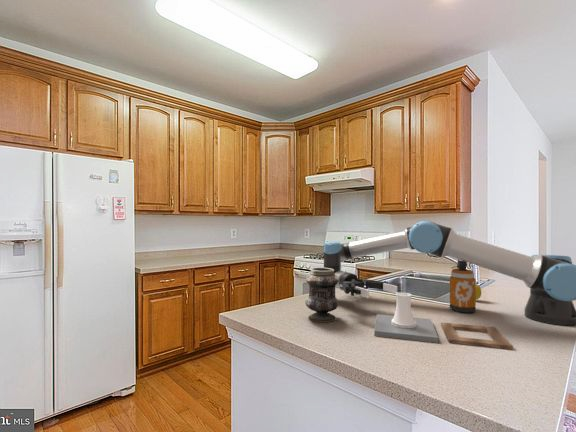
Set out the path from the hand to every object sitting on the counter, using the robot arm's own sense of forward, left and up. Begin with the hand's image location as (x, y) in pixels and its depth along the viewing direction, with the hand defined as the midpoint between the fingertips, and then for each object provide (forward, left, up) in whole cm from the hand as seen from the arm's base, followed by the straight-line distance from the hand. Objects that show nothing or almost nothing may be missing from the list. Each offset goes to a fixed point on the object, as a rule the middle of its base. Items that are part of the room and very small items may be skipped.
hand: (382, 292), depth 113 cm
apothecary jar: (+21, +4, -10) cm, 24 cm away
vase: (-7, +7, -9) cm, 13 cm away
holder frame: (-27, +7, -10) cm, 29 cm away
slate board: (-7, +7, -10) cm, 14 cm away
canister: (-30, -24, -10) cm, 40 cm away
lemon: (-38, -41, -10) cm, 57 cm away
